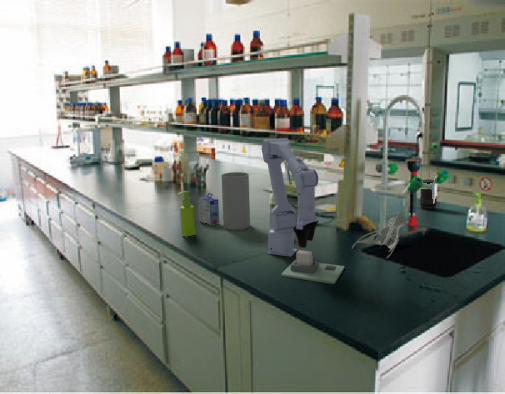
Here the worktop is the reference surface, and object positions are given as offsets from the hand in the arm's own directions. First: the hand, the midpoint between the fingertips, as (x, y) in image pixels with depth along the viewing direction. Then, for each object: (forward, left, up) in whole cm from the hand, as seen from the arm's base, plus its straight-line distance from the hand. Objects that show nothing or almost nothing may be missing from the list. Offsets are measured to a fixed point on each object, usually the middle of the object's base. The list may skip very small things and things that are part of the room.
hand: (306, 243), depth 150 cm
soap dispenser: (-60, +18, -9) cm, 64 cm away
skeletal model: (+22, +33, -9) cm, 41 cm away
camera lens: (+35, +100, -9) cm, 106 cm away
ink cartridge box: (-61, +39, -9) cm, 73 cm away
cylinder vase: (-45, +37, -9) cm, 59 cm away
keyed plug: (0, -3, -8) cm, 9 cm away
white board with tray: (+4, -3, -9) cm, 10 cm away
